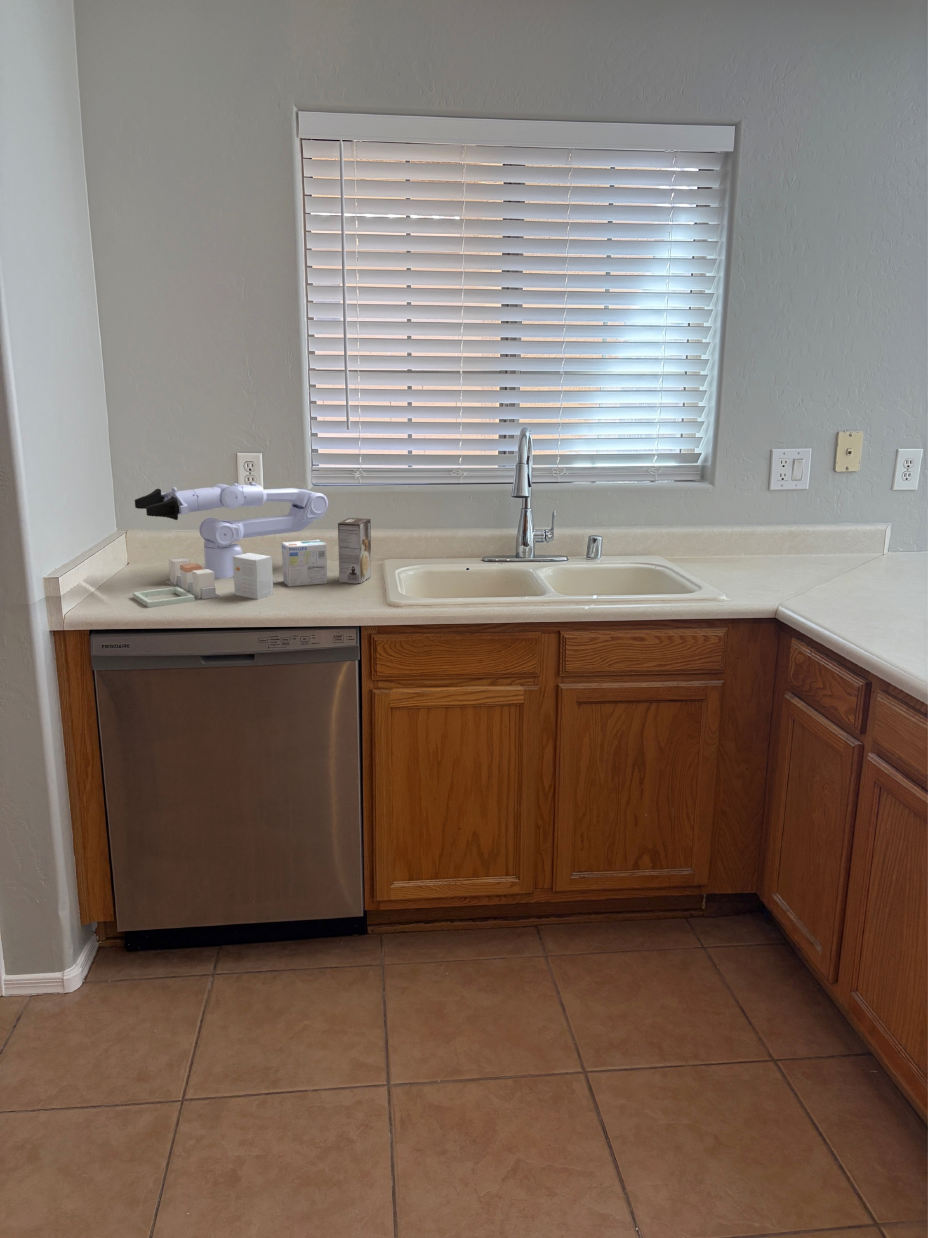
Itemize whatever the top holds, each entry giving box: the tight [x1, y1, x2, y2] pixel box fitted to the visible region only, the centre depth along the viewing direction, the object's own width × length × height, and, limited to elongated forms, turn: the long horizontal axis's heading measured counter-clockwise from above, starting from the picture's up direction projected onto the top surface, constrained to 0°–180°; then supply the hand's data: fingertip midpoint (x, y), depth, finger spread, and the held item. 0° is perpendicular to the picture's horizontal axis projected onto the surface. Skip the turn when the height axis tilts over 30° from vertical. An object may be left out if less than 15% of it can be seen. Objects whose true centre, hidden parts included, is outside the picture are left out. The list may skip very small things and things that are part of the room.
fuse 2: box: [192, 568, 216, 598], centre depth 224 cm, size 4×4×6 cm
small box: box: [233, 552, 274, 600], centre depth 226 cm, size 8×6×10 cm
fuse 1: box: [168, 556, 191, 585], centre depth 237 cm, size 4×4×6 cm
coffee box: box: [337, 517, 372, 584], centre depth 246 cm, size 9×6×16 cm
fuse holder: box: [165, 575, 221, 601], centre depth 231 cm, size 6×23×3 cm, turn 37°
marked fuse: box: [180, 562, 203, 591], centre depth 231 cm, size 4×4×6 cm
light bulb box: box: [281, 539, 328, 588], centre depth 242 cm, size 11×7×11 cm, turn 115°
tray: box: [132, 586, 196, 608], centre depth 221 cm, size 11×11×2 cm
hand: (141, 507), depth 229 cm, fingers open, 7 cm apart
